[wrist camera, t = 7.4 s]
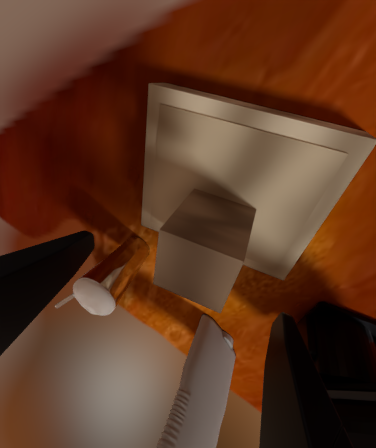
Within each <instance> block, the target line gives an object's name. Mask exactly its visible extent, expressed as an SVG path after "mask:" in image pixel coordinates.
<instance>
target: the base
mask: <svg viewBox="0 0 376 448" xmlns="http://www.w3.org/2000/svg"><path fill="white" fill-rule="evenodd" d="M375 145H376V138H374V137H373V136H371V135H370V134H369V133H367V132H366V131H361V130H357V129H353V128H349V127H345V126H341V125H337V124H333V123H329V122H325V121H320V120H316V119H312V118H308V117H304V116H300V115H296V114H292V113H288V112H284V111H279V110H275V109H271V108H267V107H263V106H259V105H255V104H251V103H247V102H243V101H238V100H234V99H230V98H226V97H222V96H218V95H214V94H210V93H206V92H202V91H197V90H193V89H189V88H185V87H181V86H177V85H173V84H169V83H149V87H148V106H147V125H146V144H145V163H144V182H143V201H142V220H141V225H142V226H145V227H147V228H150V229H152V230H155V231H158V232H159V229H160V228H161V227H162V226H163V225H164V223H165V222H166V221H167V220H168V219H169V217H170V216H171V215H172V214H173V213H174V212H175V210H176V209H177V208H178V207H179V206H180V204H181V203H182V202H183V201H184V200H185V199H186V197H187V196H188V195H189V194H190V193H191V191H192V190H193V189H197V190H200V191H203V192H206V193H209V194H212V195H215V196H218V197H221V198H224V199H228V200H231V201H234V202H237V203H240V204H243V205H246V206H249V207H252V208H255V209H256V214H255V218H254V222H253V226H252V231H251V235H250V239H249V243H248V247H247V252H246V256H245V260H244V263H243V265H245V266H247V267H250V268H253V269H255V270H258V271H260V272H263V273H265V274H268V275H271V276H273V277H276V278H278V279H281V280H283V281H284V279H285V278H286V276H287V275H288V273H289V272H290V270H291V269H292V267H293V266H294V264H295V263H296V261H297V260H298V258H299V257H300V256H301V254H302V253H303V251H304V250H305V248H306V247H307V245H308V244H309V242H310V241H311V239H312V238H313V236H314V235H315V233H316V232H317V230H318V229H319V227H320V226H321V225H322V223H323V222H324V220H325V219H326V217H327V216H328V214H329V213H330V211H331V210H332V208H333V207H334V205H335V204H336V202H337V201H338V199H339V198H340V196H341V195H342V194H343V192H344V191H345V189H346V188H347V186H348V185H349V183H350V182H351V180H352V179H353V177H354V176H355V174H356V173H357V171H358V170H359V168H360V167H361V165H362V164H363V162H364V161H365V160H366V158H367V157H368V155H369V154H370V152H371V151H372V149H373V148H374V146H375Z"/></svg>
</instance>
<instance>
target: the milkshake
mask: <svg viewBox="0 0 376 448" xmlns="http://www.w3.org/2000/svg"><path fill="white" fill-rule="evenodd" d="M148 255H149V247H148V246H147V244H146V242H145V241H143V240H142V239H140V238H139V237H130V238H129V239H128V240H126V241H125V242H124V243H123V244H122V245H121V246H119V247H118V248H117V249H116V250H115V251H113V252H112V253H111V254H110V255H109V256H108V257H106V258H105V259H104V260H103V261H101V262H100V263H98V264H97V265H96V266H94V267H93V268H92V269H91V270H89V271H88V272H87V273H86V274H84V275H83V276H82V277H81V278H79V279H78V280H77V281H76V282H75V284H74V285H73V294H72V295H70V296H69V297H67V298H65V299H64V300H62V301H61V302H59V303H58V304H56V305H55V307H56V308H59V307H60V306H62V305H63V304H65V303H66V302H68V301H69V300H71V299H73V298H74V297H76V299H77V300H78V302H79V303H80V305H81V306H82V307H84V308H85V309H86V310H87V311H89V312H90V313H91V314H96V315H109V314H110V313H112V312H113V310H114V309H115V307H116V306H117V304H118V302H119V301H120V299H121V298H122V296H123V294H124V293H125V291H126V289H127V288H128V286H129V285H130V283H131V282H132V280H133V278H134V277H135V275H136V274H137V272H138V271H139V269H140V268H141V266H142V265H143V263H144V262H145V260H146V258H147V257H148Z"/></svg>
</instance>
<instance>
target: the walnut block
mask: <svg viewBox="0 0 376 448" xmlns="http://www.w3.org/2000/svg"><path fill="white" fill-rule="evenodd" d="M255 214H256V209H255V208H252V207H249V206H246V205H243V204H240V203H237V202H234V201H231V200H228V199H224V198H221V197H218V196H215V195H212V194H209V193H206V192H203V191H200V190H197V189H193V190H192V191H191V193H190V194H189V195H188V196H187V197H186V199H185V200H184V201H183V202H182V203H181V204H180V206H179V207H178V208H177V209H176V210H175V212H174V213H173V214H172V215H171V216H170V217H169V219H168V220H167V221H166V222H165V223H164V225H163V226H162V227H161V228H160V229H159V237H158V246H157V255H156V264H155V273H154V281H153V284H155V285H157V286H159V287H161V288H164V289H166V290H168V291H171V292H173V293H175V294H177V295H180V296H182V297H184V298H187V299H189V300H191V301H193V302H196V303H198V304H200V305H202V306H205V307H207V308H209V309H212V310H214V311H216V312H218V313H221V311H222V308H223V306H224V304H225V302H226V300H227V298H228V296H229V293H230V291H231V289H232V287H233V285H234V283H235V280H236V278H237V276H238V274H239V272H240V270H241V267H242V265H243V263H244V260H245V256H246V252H247V247H248V243H249V239H250V235H251V231H252V226H253V222H254V218H255Z"/></svg>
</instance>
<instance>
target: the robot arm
mask: <svg viewBox="0 0 376 448" xmlns="http://www.w3.org/2000/svg"><path fill="white" fill-rule="evenodd" d="M94 246H95V244H94V236H93V234H92V233H91V232H88V231H81V232H77V233H74V234H71V235H68V236H65V237H61V238H58V239H55V240H51V241H48V242H45V243H41V244H39V245H35V246H32V247H28V248H25V249H22V250H18V251H15V252H12V253H9V254H5V255H2V256H0V356H1V355H2V353H3V352H4V351H5V350H6V349H7V348H8V347H9V346H10V345H11V344H12V342H13V341H14V340H15V339H16V338H17V337H18V336H19V335H20V334H21V333H22V332H23V331H24V329H25V328H26V327H27V326H28V325H29V324H30V323H31V322H32V321H33V320H34V318H36V316H37V315H38V314H39V313H40V312H41V311H42V310H43V309H44V308H45V307H46V305H47V304H48V303H49V302H50V301H51V300H52V299H53V298H54V297H55V296H56V294H58V292H59V291H60V290H61V289H62V288H63V287H64V286H65V285H66V284H67V283H68V282H69V280H70V279H71V278H72V277H73V276H74V275H75V274H76V272H77V271H78V270H79V268H80V267H81V266H82V264H83V263H84V262H85V260H86V259H87V258H88V256H89V255H90V254H91V252H92V251H93V249H94ZM259 448H376V322H374V321H372V320H369V319H367V318H364V317H361V316H359V315H356V314H354V313H351V312H349V311H346V310H344V309H341V308H339V307H336V306H334V305H331V304H328V303H326V302H319V303H318V304H317V305H316V306H315V307H314V308H313V309H312V310H311V311H310V312H309V313H308V314H307V315H305V316H304V317H303V318H302V319H301V321H300V322H299V323H298V324H297V325H296V323H295V320H294V318H293V317H292V316H291V315H289V314H287V313H284V312H281V313H280V314H279V315H278V317H277V318H276V319H275V321H274V322H273V324H272V327H271V333H270V338H269V344H268V349H267V354H266V360H265V369H264V383H263V399H262V414H261V430H260V447H259Z"/></svg>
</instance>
